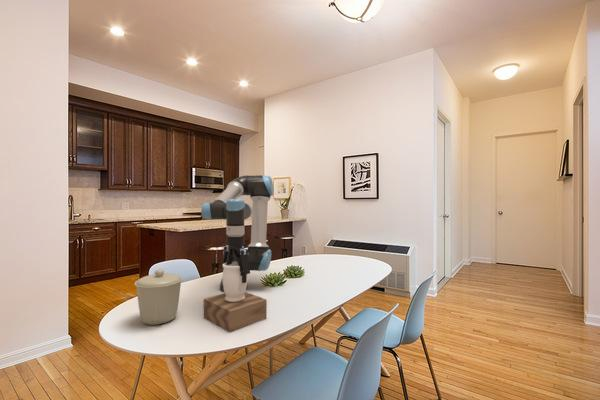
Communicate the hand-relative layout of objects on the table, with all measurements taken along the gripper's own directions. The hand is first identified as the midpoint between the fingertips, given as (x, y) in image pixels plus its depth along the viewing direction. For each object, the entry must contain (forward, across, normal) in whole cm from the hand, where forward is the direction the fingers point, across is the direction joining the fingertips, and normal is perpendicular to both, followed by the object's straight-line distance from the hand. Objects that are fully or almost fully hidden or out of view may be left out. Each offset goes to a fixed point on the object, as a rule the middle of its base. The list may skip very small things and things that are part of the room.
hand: (235, 287), depth 125 cm
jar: (+5, 0, 0) cm, 5 cm away
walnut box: (+13, 0, 0) cm, 13 cm away
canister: (+13, -21, -23) cm, 34 cm away
